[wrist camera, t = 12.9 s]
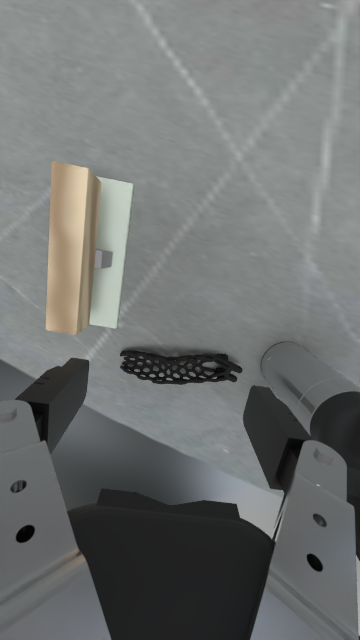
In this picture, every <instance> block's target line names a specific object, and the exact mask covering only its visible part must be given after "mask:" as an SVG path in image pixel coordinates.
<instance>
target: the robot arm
mask: <svg viewBox="0 0 360 640" xmlns="http://www.w3.org/2000/svg"><path fill="white" fill-rule="evenodd" d="M261 370H262V373H263V375H264V377H265V378H266V380H267V381H268V382H269V384H270V385H271V386H272V388H273V389H274V390H275V392H276V393H277V394H278V396H279V397H280V398H281V400H282V401H283V402H284V403H283V402H282V401H280V400H279V399H277V398H276V397H275V395H274V394H273V392H272V391H271V390H270V388H268V387H261V386H252V387H251V389H250V393H249V396H248V400H247V403H246V407H245V410H244V415H243V422H244V426H245V429H246V431H247V434H248V436H249V438H250V441H251V443H252V446H253V448H254V450H255V453H256V455H257V458H258V460H259V462H260V465H261V467H262V470H263V472H264V474H265V477H266V479H267V482H268V484H269V486H270V489H278V490H283V492H284V496H283V499H282V502H281V505H280V508H279V512H278V515H277V518H276V521H275V524H274V528H273V531H272V534H271V537H269V536H268V535H267V534H265V532H263V531H262V530H261V529H259V528H258V527H256V526H255V525H253V524H252V523H250V522H248V521H246V520H244V519H242V518H240V516H239V512H238V508H237V504H232V503H223V502H214V501H205V500H203V501H197V502H191V503H185V504H179V505H167V504H164V503H162V502H159V501H156V500H154V499H151V498H149V497H146V496H144V495H141V494H138V493H136V492H127V491H119V490H110V489H101V492H100V495H99V498H98V501H97V502H91V503H87V504H84V505H81V506H78V507H76V508H73V509H71V510H69V511H66V507H65V504H64V500H63V497H62V494H61V490H60V487H59V484H58V480H57V477H56V473H55V470H54V467H53V463H52V460H51V457H50V454H51V453H52V452H53V450H54V448H55V447H56V445H57V444H58V442H59V440H60V439H61V437H62V435H63V434H64V432H65V431H66V429H67V428H68V426H69V424H70V423H71V421H72V420H73V418H74V416H75V415H76V413H77V412H78V409H79V408H80V407H81V405H82V404H83V402H84V399H85V396H86V392H87V383H88V372H89V361H88V360H85V359H78V358H71V359H70V360H69V361H68V362H67V363H66V364H65V365H63V366H62V367H60V366H57V367H54V368H52V369H50V370H47V371H46V372H45V373H44V374H43V375H42V376H40V378H38V379H37V380H36V381H35V382H34V384H31V385H30V386H29V387H28V388H27V389H26V390H25V391H24V392H23V393H21V394H20V395H19V396H18V397H17V398H16V399H15V400H7V401H2V402H0V640H360V636H359V635H358V607H357V606H358V604H357V573H356V555H357V557H358V559H359V561H360V388H359V387H358V386H356V385H355V384H353V383H352V382H350V381H349V380H347V379H346V378H345V377H343V376H342V375H341V374H339V373H338V372H336V371H335V370H334V369H332V368H331V367H329V366H328V365H326V364H325V363H324V362H322V361H321V360H319V359H318V358H317V357H315V356H314V355H312V354H311V353H309V352H308V351H306V350H305V349H303V348H302V347H301V346H299V345H297V344H295V343H291V342H283V343H279V344H277V345H274V346H273V347H271V348H270V349H269V350H268V351H267V352H266V353H265V355H264V357H263V359H262V363H261Z"/></svg>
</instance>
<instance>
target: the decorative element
mask: <svg viewBox="0 0 360 640" xmlns="http://www.w3.org/2000/svg"><path fill="white" fill-rule="evenodd" d="M120 356H127V357H124V360H126V361H127V362H123V363H122V364H123V365H124V366H122V365H121V367H120V368H122V369H123V371H125V372H126V373H129V374H134V375H136V376H137V377H138V378H139V379H141V380H151V381H152V382H153V383H157V384H179V385H182V384H187V383H203V382H206V381H209V382H218V381H225V380H227V379H228V380H230V381H232V382H236V381H237V377H236V376H235V375H233V374H230V372H231V370H233V371H235V372H237V373H241V372H242V371H243V370H242V368H241V367H240V366H238V365H236V364H234V363H233V362H230V361H228V355H226V354H218V355H217V356H212V355H186V356H179V357H163V356H160V355H156V354H152V353H146V352H140V351H122V352H121V354H120ZM139 356H142V357H143V358H144V359H139V358H138V357H139ZM149 356H150V357H149ZM130 358H135V359H136V360H135V361H131V360H130ZM191 359H193V360H191ZM146 360H149V361H151V363H152V364H151V365H147V364H146V362H145V361H146ZM154 360H158V361H159V362H160V363H159V364H158V363H155V361H154ZM175 360H176V361H175ZM198 360H201V362H200V363H199V364H195V363H196V362H198ZM182 361H186V363H185V364H184V365H180V364H179V363H180V362H182ZM213 361H214V362H216V363H217V364H219V365H220V366H222V367H223V368H216V370H214V369H208V368H204V367H203V366H202V364H203V363H205V362H213ZM138 362H142V363H143V366H141V367H140V366H137V363H138ZM191 363H192V365H193V367H192V369H188V367H187V365H188V364H191ZM127 364H133V365H134V366H133V367H130V366H128V365H127ZM162 364H163V365H164V366H165V369H164V370H163V369H162V368H161V365H162ZM167 364H170V366H168V365H167ZM173 365H177V367H178V368H177V369H176V370H173V369H172V367H173ZM153 366H157V367H158V368H159V371H157V372H156V371H153ZM196 367H199V368H200V369H201V370H202V371H201V372H199V373H198V372H197V371H196V370H195V368H196ZM144 368H149V369H150V371H149V372H144V371H143V369H144ZM181 368H184V369H185V370H186V373H185V374H182V373H181V372H180V371H179V370H180V369H181ZM128 369H129V370H131V371H129V370H128ZM134 369H139V370H140V372H135V371H134ZM168 369H169V370H170V372H171V373H170V375H168V374H167V372H166V371H167V370H168ZM204 371H209V372H215V373H213V374H212V375H210V376H209V375H207V374H205V373H204ZM161 372H162V373H164V375H165V376H163V377H159V374H160V373H161ZM189 372H193V373H194V374H196V377H193V376H191V375H189ZM173 373H177V374H178V375H179V376H180V378H175V377H174V376H173ZM150 374H155V375H156V377H149V375H150ZM140 375H145V376H146V377H143V376H140ZM199 376H204V377H206V378H201V377H199ZM217 376H218V377H217ZM183 377H188V378H190V379H189V380H187V379H183ZM213 377H217V378H216V379H211V378H213ZM166 378H171V379H173V381H171V380H166ZM158 380H161V381H158Z"/></svg>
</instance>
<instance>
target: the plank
mask: <svg viewBox="0 0 360 640" xmlns="http://www.w3.org/2000/svg"><path fill="white" fill-rule="evenodd" d="M100 193H101V181H100V180H99V179H98V178H97V177H96V176H95V175H94V174H93V173H92V172H91V171H90V170H89V169H88V168H84V167H79V166H74V165H69V164H64V163H59V162H54V161H52V176H51V203H50V230H49V256H48V283H47V310H46V330H49V331H56V332H62V333H69V334H75V335H77V334H78V333H79V332H80V331H82V330H83V329H84V328H85V327H87V326H88V325H89V322H90V310H91V299H92V287H93V275H94V264H95V252H96V240H97V228H98V217H99V205H100Z"/></svg>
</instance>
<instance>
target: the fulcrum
mask: <svg viewBox="0 0 360 640" xmlns="http://www.w3.org/2000/svg"><path fill="white" fill-rule="evenodd" d="M96 177H97V176H96ZM97 178H98V179H99V180H100V181H101V193H100V205H99V217H98V228H97V240H96V252H95V264H94V275H93V287H92V299H91V310H90V322H89V324H91V325H97V326H103V327H110V328H117V327H118V319H119V310H120V302H121V293H122V285H123V276H124V268H125V259H126V251H127V242H128V233H129V225H130V216H131V208H132V199H133V191H134V185H133V184H131V183H126V182H122V181H117V180H112V179H107V178H102V177H97Z"/></svg>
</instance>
